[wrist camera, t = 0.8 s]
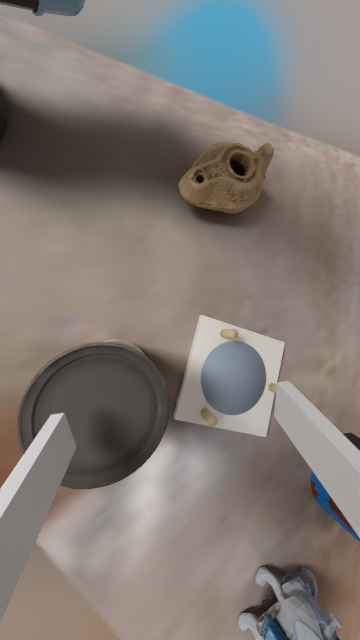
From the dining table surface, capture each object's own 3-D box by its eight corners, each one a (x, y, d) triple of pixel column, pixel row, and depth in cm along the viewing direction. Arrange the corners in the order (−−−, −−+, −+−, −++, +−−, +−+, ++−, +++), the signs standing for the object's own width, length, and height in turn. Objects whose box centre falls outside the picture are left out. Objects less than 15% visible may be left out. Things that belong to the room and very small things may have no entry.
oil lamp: (161, 187, 32) (172, 140, 24) (226, 151, 35) (254, 99, 27) (201, 244, 33) (223, 216, 25) (260, 203, 36) (296, 167, 29)
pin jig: (199, 315, 32) (209, 313, 28) (280, 342, 35) (299, 343, 31) (172, 416, 29) (179, 429, 25) (262, 434, 33) (279, 447, 29)
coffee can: (164, 376, 29) (195, 411, 16) (108, 428, 27) (87, 523, 13) (119, 323, 28) (110, 313, 15) (57, 373, 26) (-23, 416, 12)
